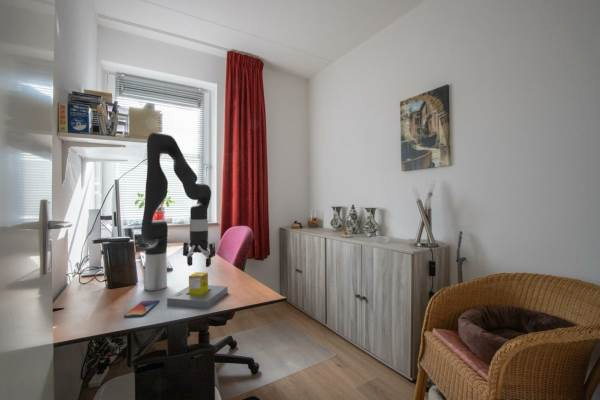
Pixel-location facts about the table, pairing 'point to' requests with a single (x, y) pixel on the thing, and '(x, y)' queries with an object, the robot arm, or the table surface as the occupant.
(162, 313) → the table surface
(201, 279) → the supplement box
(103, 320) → the table surface
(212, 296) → the socket plate
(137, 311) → the smartphone
